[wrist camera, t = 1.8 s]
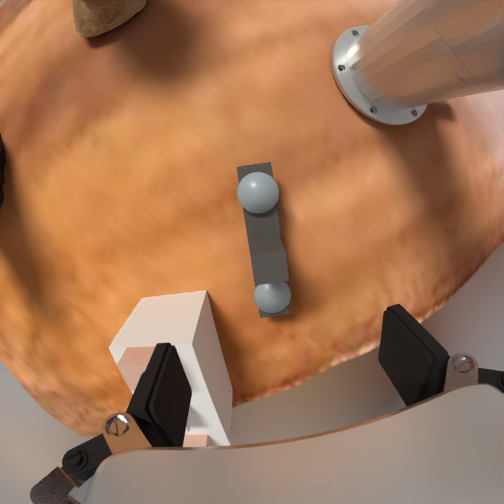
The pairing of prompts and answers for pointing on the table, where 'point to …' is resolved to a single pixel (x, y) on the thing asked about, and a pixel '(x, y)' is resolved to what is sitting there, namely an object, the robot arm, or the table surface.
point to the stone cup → (103, 15)
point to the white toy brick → (182, 359)
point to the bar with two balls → (264, 238)
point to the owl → (1, 170)
